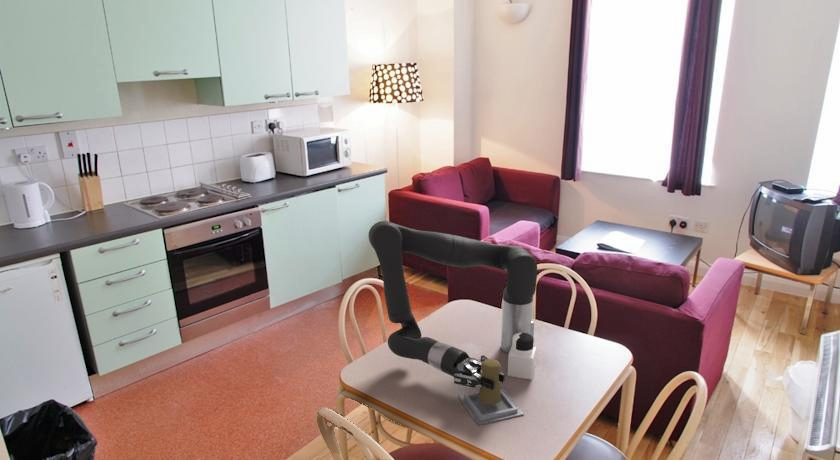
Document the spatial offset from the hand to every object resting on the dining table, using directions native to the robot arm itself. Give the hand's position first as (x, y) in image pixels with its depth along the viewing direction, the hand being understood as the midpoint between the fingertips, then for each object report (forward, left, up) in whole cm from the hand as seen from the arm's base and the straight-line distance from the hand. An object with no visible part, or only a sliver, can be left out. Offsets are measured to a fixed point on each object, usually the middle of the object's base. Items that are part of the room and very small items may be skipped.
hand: (499, 382), depth 144 cm
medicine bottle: (-15, -14, -9) cm, 22 cm away
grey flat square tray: (+1, -2, -8) cm, 9 cm away
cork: (+1, -2, -6) cm, 7 cm away
